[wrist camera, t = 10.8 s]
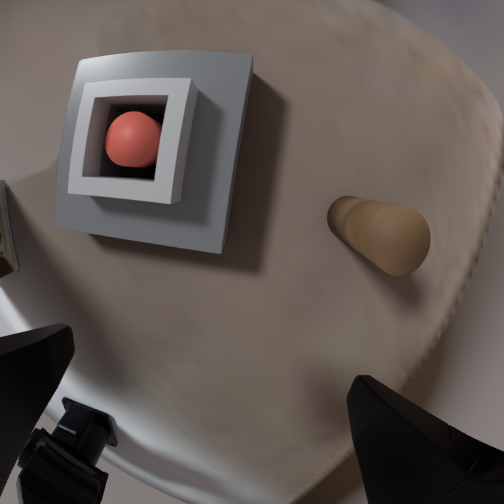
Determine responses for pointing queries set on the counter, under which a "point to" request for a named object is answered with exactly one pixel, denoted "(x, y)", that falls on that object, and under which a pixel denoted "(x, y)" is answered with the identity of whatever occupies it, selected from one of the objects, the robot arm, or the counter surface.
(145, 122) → the plunger
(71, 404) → the robot arm
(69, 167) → the button box
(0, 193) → the coffee box
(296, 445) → the counter surface
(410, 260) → the tapered wooden peg
